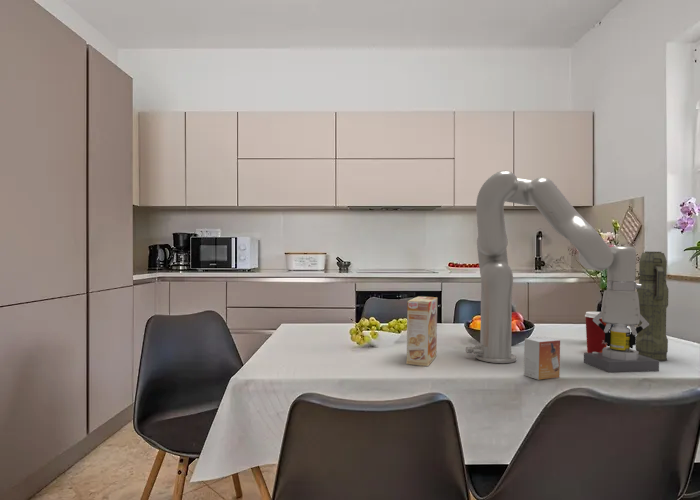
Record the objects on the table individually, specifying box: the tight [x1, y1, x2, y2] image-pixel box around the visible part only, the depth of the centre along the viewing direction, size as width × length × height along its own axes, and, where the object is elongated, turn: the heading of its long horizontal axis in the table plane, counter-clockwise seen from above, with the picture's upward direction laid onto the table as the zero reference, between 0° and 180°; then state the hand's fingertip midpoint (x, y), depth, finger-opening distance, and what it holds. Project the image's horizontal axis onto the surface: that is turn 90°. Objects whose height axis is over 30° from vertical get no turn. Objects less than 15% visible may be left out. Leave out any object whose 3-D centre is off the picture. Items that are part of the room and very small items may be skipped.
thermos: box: [635, 251, 669, 363], centre depth 159 cm, size 9×12×35 cm
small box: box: [523, 336, 561, 381], centre depth 136 cm, size 8×6×10 cm
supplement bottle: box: [609, 324, 631, 353], centre depth 148 cm, size 5×5×10 cm
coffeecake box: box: [406, 295, 438, 367], centre depth 154 cm, size 15×7×20 cm, turn 160°
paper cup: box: [584, 311, 608, 353], centre depth 165 cm, size 8×8×14 cm
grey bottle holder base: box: [583, 346, 660, 373], centre depth 148 cm, size 16×12×5 cm
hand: (619, 345), depth 148 cm, fingers closed on supplement bottle, 5 cm apart
